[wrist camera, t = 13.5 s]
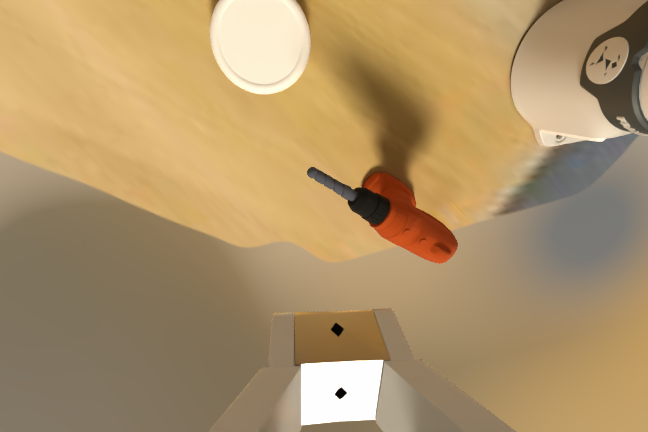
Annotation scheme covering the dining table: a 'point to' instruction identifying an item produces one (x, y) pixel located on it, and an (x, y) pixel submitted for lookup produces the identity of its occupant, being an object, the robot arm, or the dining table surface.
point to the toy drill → (395, 215)
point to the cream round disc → (260, 43)
